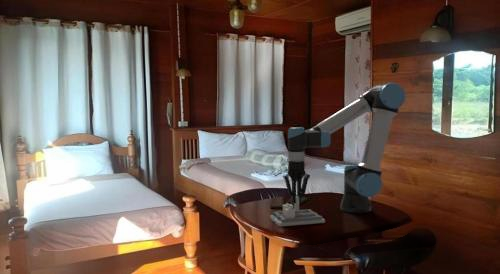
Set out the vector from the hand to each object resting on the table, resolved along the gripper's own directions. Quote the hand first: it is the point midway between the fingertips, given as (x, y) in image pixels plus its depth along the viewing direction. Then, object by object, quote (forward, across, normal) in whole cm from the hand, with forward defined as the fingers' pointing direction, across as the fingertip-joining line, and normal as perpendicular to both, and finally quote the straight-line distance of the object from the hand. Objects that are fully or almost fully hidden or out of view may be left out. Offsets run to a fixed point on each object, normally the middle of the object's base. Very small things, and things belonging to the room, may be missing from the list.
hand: (296, 209), depth 191 cm
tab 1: (+2, +4, 0) cm, 5 cm away
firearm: (+5, -6, -28) cm, 29 cm away
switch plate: (+4, +1, +3) cm, 5 cm away
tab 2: (+2, +6, +7) cm, 10 cm away
